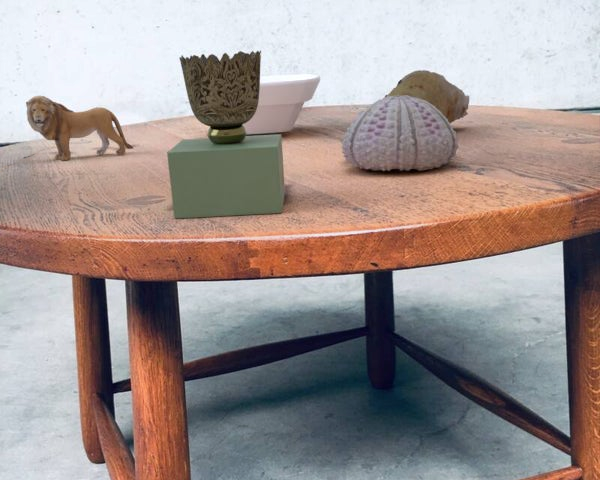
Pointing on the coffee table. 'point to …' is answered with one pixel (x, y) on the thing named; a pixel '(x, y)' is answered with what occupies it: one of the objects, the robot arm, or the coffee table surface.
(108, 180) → the coffee table surface
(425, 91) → the mineral
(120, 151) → the lion figurine
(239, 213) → the block
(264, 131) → the bowl
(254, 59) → the cup
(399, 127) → the sea urchin shell
